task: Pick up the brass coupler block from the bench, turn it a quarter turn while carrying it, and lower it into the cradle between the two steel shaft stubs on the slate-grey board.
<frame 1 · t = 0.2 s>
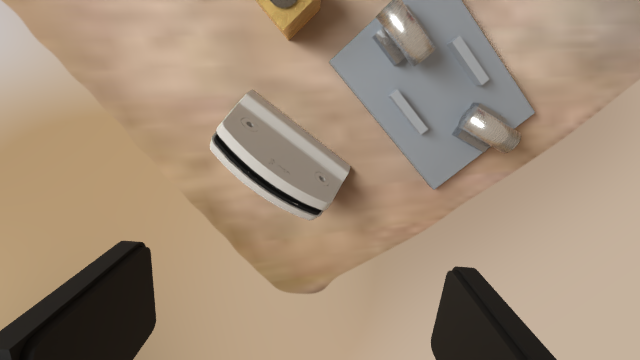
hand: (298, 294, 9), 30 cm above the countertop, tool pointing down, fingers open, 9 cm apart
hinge: (285, 151, 39), on the countertop
board: (430, 87, 37), on the countertop
coupler: (289, 7, 34), on the countertop
shaft a: (394, 40, 35), resting on board
shaft b: (469, 125, 38), resting on board
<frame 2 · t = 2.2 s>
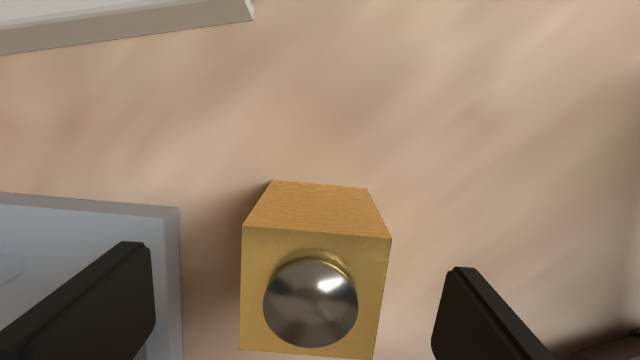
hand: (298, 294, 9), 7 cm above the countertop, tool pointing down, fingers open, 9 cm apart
board: (6, 310, 18), on the countertop
coupler: (315, 227, 16), on the countertop
frying pan: (635, 328, 18), on the countertop
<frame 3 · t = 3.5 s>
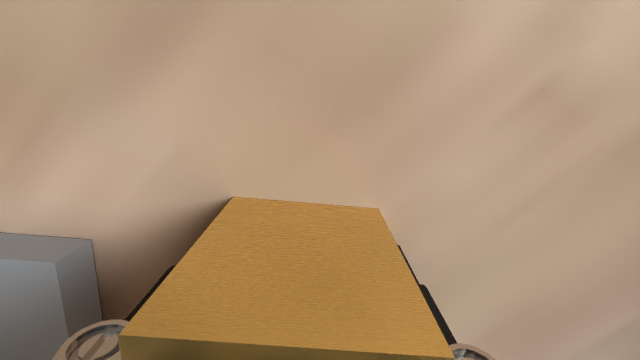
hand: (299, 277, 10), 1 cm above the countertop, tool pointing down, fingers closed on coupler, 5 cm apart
coupler: (301, 266, 11), on the countertop, touching gripper
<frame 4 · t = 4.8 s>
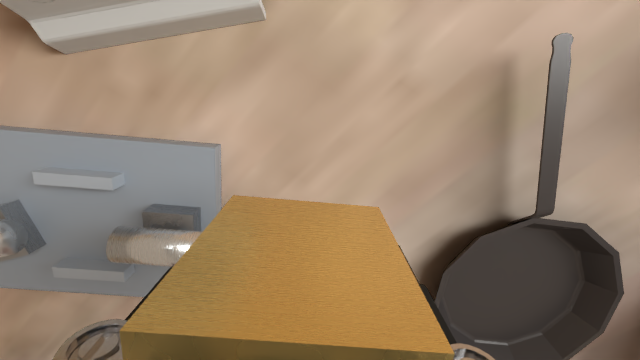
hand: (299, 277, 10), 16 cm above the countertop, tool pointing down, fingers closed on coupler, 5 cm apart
board: (106, 215, 27), on the countertop
coupler: (301, 265, 11), point 16 cm above the countertop, touching gripper
shaft a: (185, 221, 27), resting on board
frying pan: (512, 223, 28), on the countertop
shaft b: (28, 220, 27), resting on board
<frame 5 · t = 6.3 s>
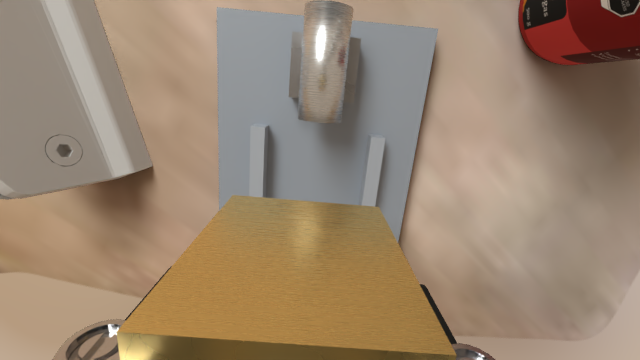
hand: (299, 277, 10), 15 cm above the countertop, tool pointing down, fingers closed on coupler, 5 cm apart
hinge: (73, 75, 23), on the countertop
board: (315, 163, 24), on the countertop
coupler: (301, 265, 11), point 14 cm above the countertop, touching gripper
canned food: (567, 7, 21), on the countertop
shaft a: (323, 71, 22), resting on board
when the fingers open (4 cm above the countertop, at t = 8.1 s): coupler drops 2 cm, resting on board.
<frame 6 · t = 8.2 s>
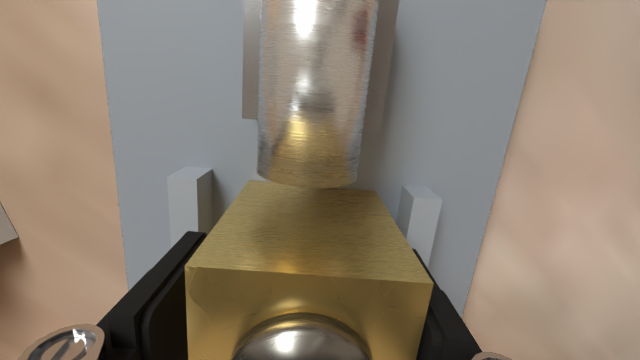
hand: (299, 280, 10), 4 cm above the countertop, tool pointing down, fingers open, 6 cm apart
board: (304, 229, 14), on the countertop
coupler: (307, 242, 12), point 2 cm above the countertop, touching board
shaft a: (317, 66, 12), resting on board
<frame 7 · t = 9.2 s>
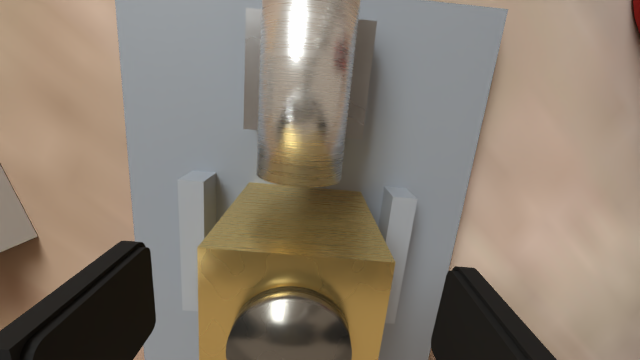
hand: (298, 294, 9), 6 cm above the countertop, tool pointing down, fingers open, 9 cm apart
board: (298, 227, 15), on the countertop
coupler: (301, 237, 14), point 1 cm above the countertop, touching board
shaft a: (309, 82, 13), resting on board
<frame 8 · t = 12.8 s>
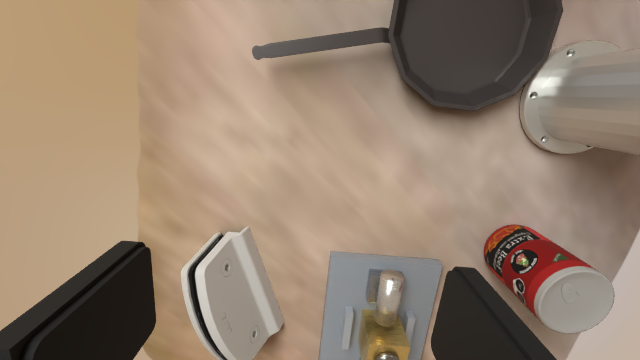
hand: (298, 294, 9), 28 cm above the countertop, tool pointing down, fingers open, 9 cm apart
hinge: (242, 281, 42), on the countertop
board: (374, 318, 44), on the countertop
coupler: (377, 325, 42), point 1 cm above the countertop, touching board
canned food: (509, 248, 41), on the countertop
shaft a: (381, 276, 42), resting on board
frying pan: (399, 37, 33), on the countertop
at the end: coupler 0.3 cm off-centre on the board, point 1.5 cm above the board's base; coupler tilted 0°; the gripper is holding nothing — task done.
